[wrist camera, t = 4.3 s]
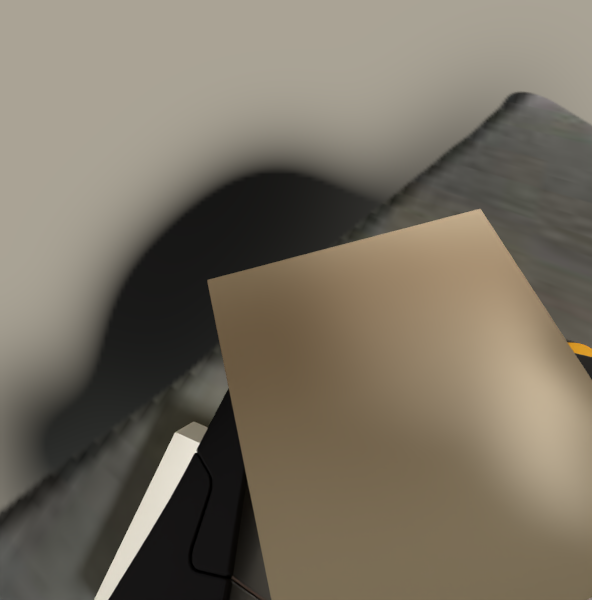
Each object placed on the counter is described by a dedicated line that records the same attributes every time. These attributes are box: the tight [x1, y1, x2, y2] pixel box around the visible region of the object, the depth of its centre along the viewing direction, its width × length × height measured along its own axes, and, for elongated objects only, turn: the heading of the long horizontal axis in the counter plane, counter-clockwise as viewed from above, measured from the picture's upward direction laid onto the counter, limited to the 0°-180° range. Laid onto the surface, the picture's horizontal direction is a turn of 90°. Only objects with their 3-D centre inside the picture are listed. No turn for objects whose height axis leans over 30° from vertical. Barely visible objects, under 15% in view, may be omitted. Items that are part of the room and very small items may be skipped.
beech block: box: [207, 209, 592, 600], centre depth 8 cm, size 4×4×12 cm
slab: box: [94, 422, 208, 600], centre depth 12 cm, size 10×10×3 cm
